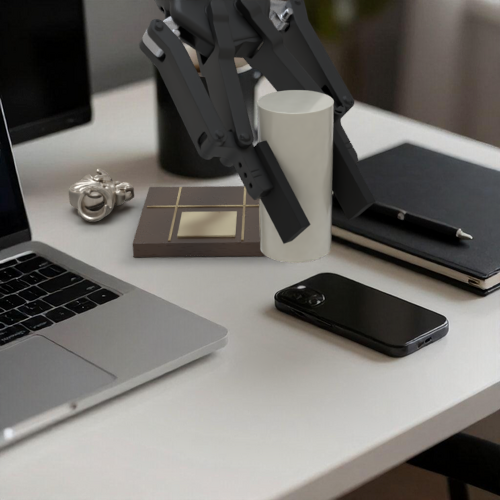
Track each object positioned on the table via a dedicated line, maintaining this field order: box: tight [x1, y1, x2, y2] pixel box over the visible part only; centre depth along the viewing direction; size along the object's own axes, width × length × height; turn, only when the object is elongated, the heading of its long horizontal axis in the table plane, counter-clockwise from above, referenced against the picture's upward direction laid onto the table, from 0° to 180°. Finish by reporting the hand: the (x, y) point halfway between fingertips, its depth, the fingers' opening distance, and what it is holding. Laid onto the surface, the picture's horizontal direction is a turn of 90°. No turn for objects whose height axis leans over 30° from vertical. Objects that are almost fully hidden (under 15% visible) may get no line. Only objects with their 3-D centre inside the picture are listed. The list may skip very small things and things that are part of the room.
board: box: [132, 185, 266, 258], centre depth 95 cm, size 14×14×2 cm
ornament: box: [68, 167, 135, 223], centre depth 98 cm, size 8×7×4 cm
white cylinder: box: [256, 90, 334, 264], centre depth 65 cm, size 5×5×11 cm
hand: (330, 221), depth 63 cm, fingers closed on white cylinder, 5 cm apart
